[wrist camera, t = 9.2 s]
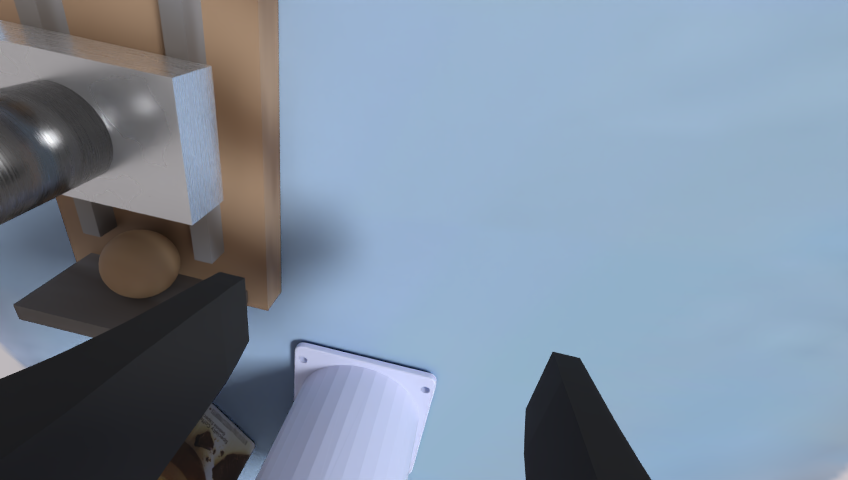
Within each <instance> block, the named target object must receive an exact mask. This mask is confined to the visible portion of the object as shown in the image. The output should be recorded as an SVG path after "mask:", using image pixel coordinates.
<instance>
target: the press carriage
mask: <svg viewBox="0 0 848 480" xmlns="http://www.w3.org/2000/svg"><path fill="white" fill-rule="evenodd" d="M60 195H65V196H69V197H74V198H78V199H82V200H86V201H91V202H95V203H99V204H103V205H108V206H112V207H116V208H120V209H125V210H129V211H133V212H137V213H142V214H146V215H150V216H154V217H159V218H163V219H167V220H171V221H176V222H180V223H184V224H188V225H193V224H195V223H196V222H197V221H198V220H200V219H201V218H202V217H204V216H205V215H206V214H207V213H209V212H210V211H211V210H212V209H214V208H215V207H216V206H217V205H219V204H220V203H221V202H222V201H224V199H223V188H222V176H221V165H220V154H219V143H218V132H217V120H216V109H215V98H214V87H213V75H212V66H210V65H205V64H201V63H196V62H192V61H187V60H182V59H178V58H173V57H169V56H164V55H159V54H155V53H150V52H146V51H141V50H137V49H132V48H127V47H123V46H118V45H114V44H109V43H104V42H100V41H95V40H91V39H86V38H81V37H77V36H72V35H68V34H63V33H58V32H54V31H49V30H45V29H40V28H35V27H31V26H26V25H22V24H17V23H13V22H8V21H3V20H0V225H1V224H3V223H5V222H7V221H9V220H11V219H13V218H15V217H17V216H19V215H21V214H23V213H25V212H27V211H29V210H31V209H33V208H35V207H37V206H39V205H41V204H43V203H45V202H47V201H49V200H51V199H54V198H56V197H58V196H60Z"/></svg>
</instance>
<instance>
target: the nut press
mask: <svg viewBox="0 0 848 480" xmlns="http://www.w3.org/2000/svg"><path fill="white" fill-rule="evenodd" d="M0 20H3V21H8V22H13V23H17V24H22V25H26V26H31V27H35V28H40V29H45V30H49V31H54V32H58V33H63V34H68V35H72V36H77V37H81V38H86V39H91V40H95V41H100V42H104V43H109V44H114V45H118V46H123V47H127V48H132V49H137V50H141V51H146V52H150V53H155V54H159V55H164V56H169V57H173V58H178V59H182V60H187V61H192V62H196V63H201V64H205V65H210V66H212V75H213V87H214V98H215V109H216V120H217V132H218V143H219V154H220V165H221V176H222V188H223V199H224V201H222V202H221V203H220V204H219V205H217V206H216V207H215V208H214V209H212V210H211V211H210V212H209V213H207V214H206V215H205V216H204V217H202V218H201V219H200V220H198V221H197V222H196V223H195V224H193V225H188V224H184V223H180V222H176V221H171V220H167V219H163V218H159V217H154V216H150V215H146V214H142V213H137V212H133V211H129V210H125V209H120V208H116V207H112V206H108V205H103V204H99V203H95V202H91V201H86V200H82V199H78V198H74V197H69V196H65V195H60V196H58V197H56V200H57V203H58V206H59V209H60V212H61V215H62V218H63V222H64V225H65V228H66V231H67V234H68V237H69V240H70V243H71V246H72V249H73V253H74V256H75V259H76V263H75V264H73V265H72V266H70V267H69V268H68V269H66V270H65V271H63V272H62V273H60V274H59V275H57V276H56V277H54V278H53V279H51V280H50V281H48V282H47V283H45V284H44V285H42V286H41V287H39V288H38V289H36V290H35V291H33V292H32V293H30V294H29V295H27V296H26V297H24V298H23V299H21V300H20V301H18V302H17V303H15V304H14V305H13V306H14V308H15V310H16V312H17V315H18V317H19V319H21V320H25V321H29V322H33V323H37V324H41V325H45V326H49V327H53V328H57V329H61V330H65V331H69V332H73V333H77V334H81V335H85V336H89V337H93V338H94V337H96V336H98V335H100V334H102V333H104V332H106V331H108V330H110V329H112V328H114V327H117V326H119V325H121V324H123V323H125V322H127V321H129V320H130V319H132V318H134V317H136V316H138V315H140V314H142V313H144V312H145V311H147V310H149V309H151V308H153V307H155V306H157V305H159V304H161V303H162V302H164V301H166V300H168V299H170V298H172V297H174V296H175V295H177V294H179V293H181V292H183V291H185V290H186V289H188V288H190V287H192V286H194V285H196V284H197V283H199V282H201V281H203V280H205V279H207V278H209V277H211V276H213V275H215V274H216V273H218V272H223V273H227V274H231V275H235V276H239V277H243V278H245V288H246V303H247V306H251V307H255V308H259V309H263V310H267V311H268V310H269V308H270V307H271V306H272V304H273V303H274V301H275V300H276V299H277V297H278V296H279V294H280V293H281V228H280V130H279V32H278V0H0Z"/></svg>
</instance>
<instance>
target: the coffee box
mask: <svg viewBox="0 0 848 480" xmlns="http://www.w3.org/2000/svg"><path fill="white" fill-rule="evenodd" d="M254 448H255V444H254V443H253V442H252V441H251V440H250V439H249V438H248V437H247V436H246V435H245V434H244V433H243V432H242V431H241V430H240V429H239V428H238V427H236V426H235V425H234V424H233V423H232V422H231V421H230V420H229V419H228V418H227V417H226V416H225V415H224V414H223V413H222V412H221V411H220V410H219V409H218V408H217V407H215V406H214V405H213V404H212V403H211V405H210V406H209V408H208V409H207V410H206V412H205V413H204V415H203V416H202V417H201V419H200V420H199V422H198V423H197V424H196V426H195V427H194V429H193V430H192V431H191V433H190V434H189V436H188V437H187V438H186V440H185V441H184V443H183V444H182V445H181V447H180V448H179V450H178V451H177V452H176V454H175V455H174V457H173V458H172V459H171V461H170V462H169V464H168V465H167V466H166V468H165V469H164V471H163V472H162V474H161V475H160V477H159V478H158V480H237V479H238V477H239V475H240V473H241V471H242V470H243V468H244V466H245V464H246V462H247V460H248V459H249V457H250V455H251V453H252V451H253V450H254Z"/></svg>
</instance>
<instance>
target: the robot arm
mask: <svg viewBox="0 0 848 480" xmlns="http://www.w3.org/2000/svg"><path fill="white" fill-rule="evenodd" d="M248 342H249V333H248V318H247V303H246V288H245V278H243V277H239V276H235V275H231V274H227V273H223V272H218V273H216V274H215V275H213V276H211V277H209V278H207V279H205V280H203V281H201V282H199V283H197V284H196V285H194V286H192V287H190V288H188V289H186V290H185V291H183V292H181V293H179V294H177V295H175V296H174V297H172V298H170V299H168V300H166V301H164V302H162V303H161V304H159V305H157V306H155V307H153V308H151V309H149V310H147V311H145V312H144V313H142V314H140V315H138V316H136V317H134V318H132V319H130V320H129V321H127V322H125V323H123V324H121V325H119V326H117V327H114V328H112V329H110V330H108V331H106V332H104V333H102V334H100V335H98V336H96V337H94V338H92V339H90V340H88V341H86V342H84V343H82V344H79V345H77V346H75V347H73V348H71V349H69V350H67V351H65V352H63V353H60V354H58V355H56V356H54V357H52V358H49V359H47V360H45V361H42V362H40V363H38V364H35V365H33V366H31V367H28V368H26V369H23V370H21V371H19V372H16V373H14V374H11V375H9V376H6V377H4V378H1V379H0V480H158V478H159V477H160V475H161V474H162V472H163V471H164V469H165V468H166V466H167V465H168V464H169V462H170V461H171V459H172V458H173V457H174V455H175V454H176V452H177V451H178V450H179V448H180V447H181V445H182V444H183V443H184V441H185V440H186V438H187V437H188V436H189V434H190V433H191V431H192V430H193V429H194V427H195V426H196V424H197V423H198V422H199V420H200V419H201V417H202V416H203V415H204V413H205V412H206V410H207V409H208V408H209V406H210V405H211V403H212V402H213V400H214V399H215V398H216V396H217V395H218V393H219V392H220V391H221V389H222V388H223V386H224V385H225V383H226V382H227V380H228V379H229V377H230V375H231V373H232V372H233V370H234V368H235V366H236V365H237V363H238V361H239V359H240V357H241V355H242V353H243V351H244V349H245V347H246V346H247V344H248ZM436 382H437V379H436V377H435V376H434V375H433V374H431V373H428V372H423V371H419V370H415V369H411V368H407V367H403V366H399V365H395V364H391V363H387V362H383V361H379V360H375V359H370V358H366V357H362V356H358V355H354V354H350V353H346V352H342V351H338V350H334V349H330V348H326V347H322V346H317V345H313V344H309V343H304V342H302V343H299V344H298V345H297V347H296V348H295V365H294V403H293V405H292V407H291V409H290V411H289V413H288V415H287V417H286V419H285V421H284V423H283V425H282V427H281V429H280V431H279V433H278V435H277V437H276V439H275V441H274V443H273V445H272V447H271V449H270V451H269V453H268V455H267V457H266V459H265V461H264V463H263V465H262V467H261V469H260V471H259V473H258V475H257V477H256V479H255V480H407V479H408V474H409V473H411V472H412V469H413V466H414V462H415V459H416V455H417V451H418V448H419V444H420V441H421V437H422V433H423V430H424V426H425V423H426V419H427V416H428V412H429V408H430V405H431V401H432V398H433V394H434V391H435V387H436ZM426 387H427V388H426ZM524 460H525V474H526V480H651V479H650V477H649V475H648V474H647V472H646V471H645V469H644V468H643V466H642V464H641V463H640V461H639V460H638V458H637V456H636V455H635V453H634V451H633V450H632V448H631V446H630V445H629V443H628V441H627V440H626V438H625V437H624V435H623V433H622V432H621V430H620V428H619V426H618V425H617V423H616V421H615V420H614V418H613V416H612V414H611V413H610V411H609V409H608V407H607V406H606V404H605V402H604V400H603V398H602V397H601V395H600V393H599V391H598V390H597V388H596V386H595V384H594V382H593V381H592V379H591V377H590V375H589V373H588V372H587V370H586V368H585V366H584V365H583V363H582V361H581V359H580V358H577V357H573V356H569V355H564V354H560V353H556V352H552V354H551V356H550V359H549V361H548V363H547V365H546V367H545V369H544V371H543V374H542V376H541V378H540V380H539V382H538V384H537V386H536V388H535V391H534V393H533V395H532V397H531V399H530V401H529V403H528V405H527V408H526V416H525V439H524Z"/></svg>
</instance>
